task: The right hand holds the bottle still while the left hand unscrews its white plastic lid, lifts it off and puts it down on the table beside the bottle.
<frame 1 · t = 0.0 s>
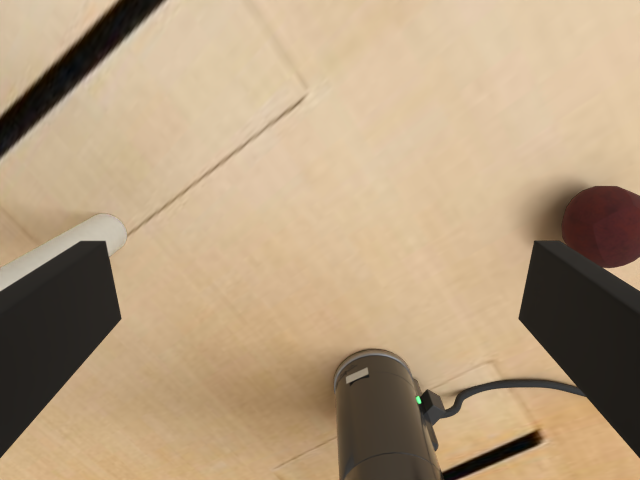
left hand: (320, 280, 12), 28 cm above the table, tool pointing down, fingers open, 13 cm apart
bottle: (107, 232, 42), on the table
potato: (581, 214, 41), on the table
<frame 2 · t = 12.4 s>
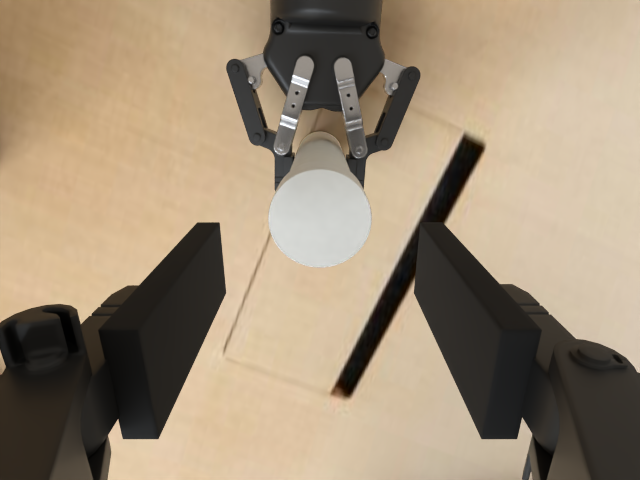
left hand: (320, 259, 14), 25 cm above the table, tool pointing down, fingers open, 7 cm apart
right hand: (318, 201, 32), fingers closed on bottle, 4 cm apart
bottle: (319, 154, 37), on the table, touching right hand
lid: (320, 218, 19), point 20 cm above the table, screwed on, not yet turned
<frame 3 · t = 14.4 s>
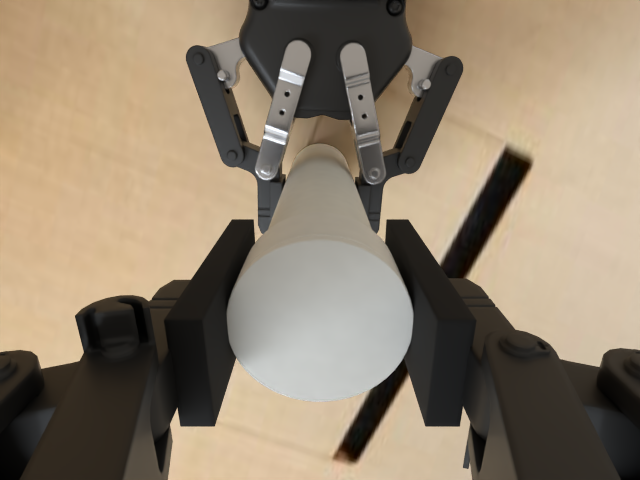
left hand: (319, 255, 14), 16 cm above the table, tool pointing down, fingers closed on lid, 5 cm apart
right hand: (317, 239, 24), fingers closed on bottle, 4 cm apart
bottle: (319, 172, 29), on the table, touching right hand
lid: (319, 320, 10), point 20 cm above the table, screwed on, not yet turned, touching left hand
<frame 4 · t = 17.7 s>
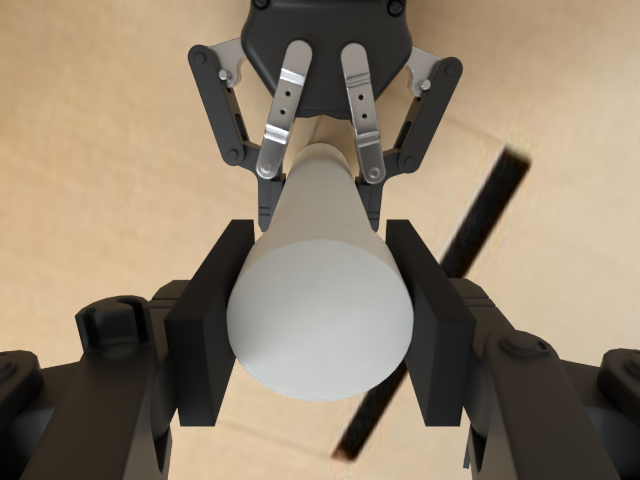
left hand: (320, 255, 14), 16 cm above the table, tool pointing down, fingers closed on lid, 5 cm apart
right hand: (317, 238, 24), fingers closed on bottle, 4 cm apart
bottle: (319, 171, 29), on the table, touching right hand
lid: (320, 320, 10), point 20 cm above the table, turned 106° so far, risen 0.2 cm, still on its thread, touching left hand
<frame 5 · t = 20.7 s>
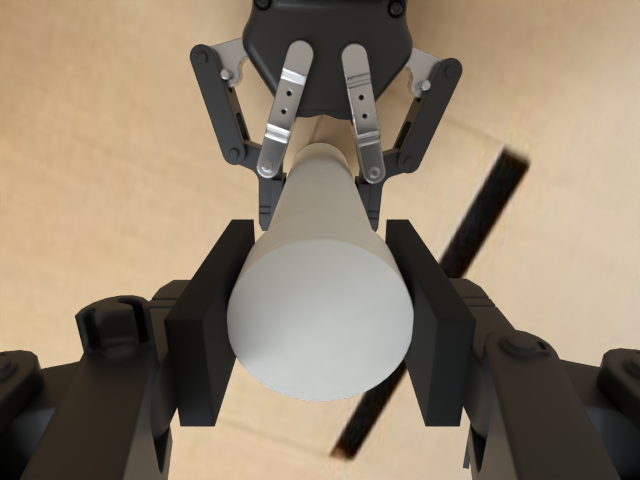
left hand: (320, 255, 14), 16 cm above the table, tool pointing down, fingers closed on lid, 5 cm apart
right hand: (317, 237, 24), fingers closed on bottle, 4 cm apart
bottle: (320, 171, 29), on the table, touching right hand
lid: (320, 319, 10), point 20 cm above the table, turned 211° so far, risen 0.3 cm, still on its thread, touching left hand
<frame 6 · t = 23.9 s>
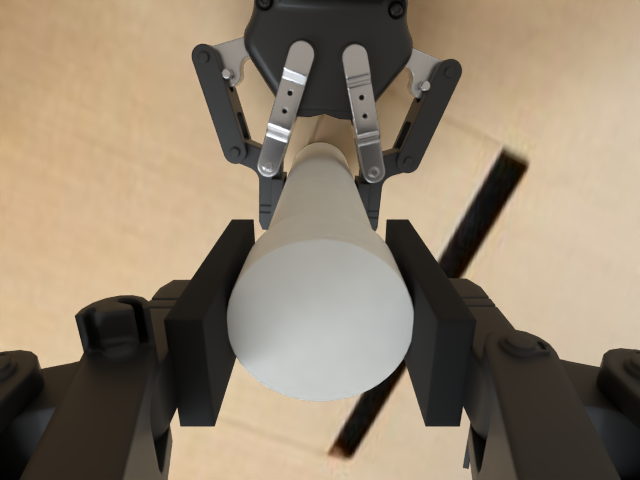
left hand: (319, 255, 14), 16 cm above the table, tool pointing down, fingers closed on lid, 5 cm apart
right hand: (317, 236, 24), fingers closed on bottle, 4 cm apart
bottle: (320, 170, 29), on the table, touching right hand
lid: (320, 319, 10), point 20 cm above the table, turned 317° so far, risen 0.5 cm, still on its thread, touching left hand
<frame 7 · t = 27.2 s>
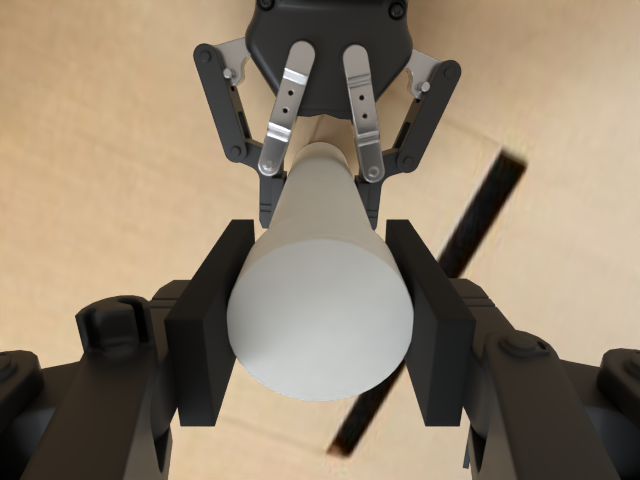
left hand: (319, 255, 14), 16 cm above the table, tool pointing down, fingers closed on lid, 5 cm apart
right hand: (316, 235, 24), fingers closed on bottle, 4 cm apart
bottle: (320, 170, 30), on the table, touching right hand
lid: (320, 319, 10), point 21 cm above the table, turned 422° so far, risen 0.7 cm, still on its thread, touching left hand
when the left hand's fingers open (0 cm above the table, at t = 34.3 s): lid drops 2 cm, point 2 cm above the table.
when the right hand's fingers open (7 cm above the table, at t = 35.4 s): bottle stays where it is, on the table.
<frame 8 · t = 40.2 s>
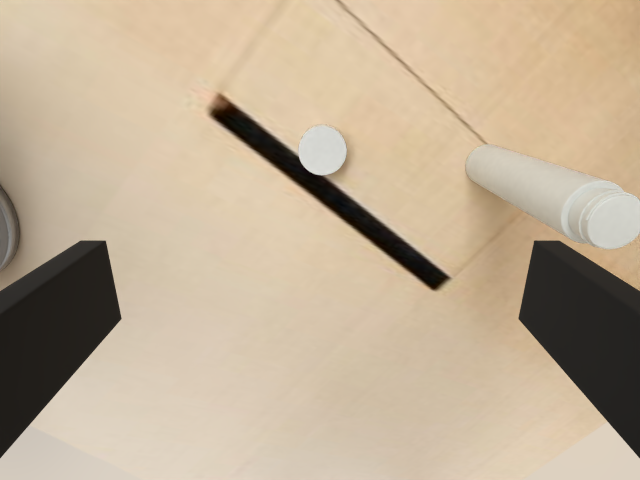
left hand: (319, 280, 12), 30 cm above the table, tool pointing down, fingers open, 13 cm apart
bottle: (485, 164, 42), on the table
lid: (322, 150, 39), point 2 cm above the table, off its thread
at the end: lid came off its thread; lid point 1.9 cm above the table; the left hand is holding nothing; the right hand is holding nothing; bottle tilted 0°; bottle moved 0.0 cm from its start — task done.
